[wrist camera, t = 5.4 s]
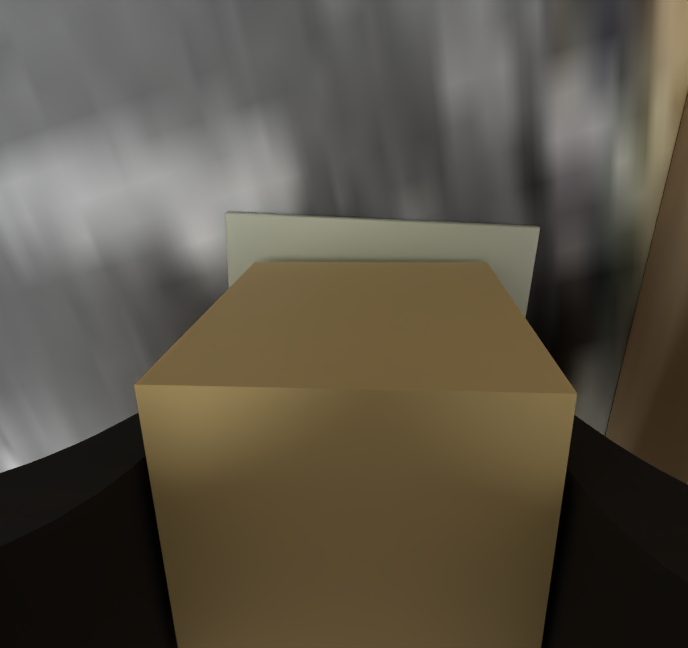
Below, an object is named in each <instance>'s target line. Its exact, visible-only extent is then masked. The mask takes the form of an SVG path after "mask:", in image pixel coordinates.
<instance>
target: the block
mask: <svg viewBox="0 0 688 648" xmlns="http://www.w3.org/2000/svg"><path fill="white" fill-rule="evenodd" d="M134 388H135V394H136V400H137V406H138V412H139V418H140V424H141V430H142V436H143V442H144V448H145V454H146V460H147V466H148V472H149V478H150V484H151V490H152V496H153V502H154V508H155V514H156V520H157V526H158V532H159V538H160V544H161V550H162V556H163V562H164V568H165V574H166V580H167V586H168V592H169V598H170V604H171V610H172V616H173V622H174V628H175V634H176V640H177V646H178V648H541V644H542V637H543V630H544V623H545V616H546V609H547V602H548V595H549V588H550V581H551V574H552V567H553V560H554V553H555V546H556V539H557V532H558V525H559V518H560V511H561V504H562V497H563V490H564V483H565V476H566V469H567V462H568V455H569V448H570V441H571V434H572V427H573V420H574V413H575V406H576V399H577V393H576V391H575V390H574V388H573V387H572V385H571V384H570V382H569V381H568V379H567V378H566V377H565V375H564V374H563V372H562V371H561V369H560V368H559V366H558V365H557V363H556V362H555V361H554V359H553V358H552V356H551V355H550V353H549V352H548V350H547V349H546V347H545V346H544V344H543V343H542V342H541V340H540V339H539V337H538V336H537V334H536V333H535V331H534V330H533V328H532V327H531V326H530V324H529V323H528V321H527V320H526V318H525V317H524V315H523V314H522V312H521V311H520V310H519V308H518V307H517V305H516V304H515V302H514V301H513V299H512V298H511V296H510V295H509V293H508V292H507V291H506V289H505V288H504V286H503V285H502V283H501V282H500V280H499V279H498V277H497V276H496V275H495V273H494V272H493V270H492V269H491V267H490V266H489V264H488V263H487V262H254V263H253V264H252V265H251V266H250V267H249V268H248V269H247V270H246V271H245V272H244V274H243V275H242V276H241V277H240V278H239V279H238V280H237V281H236V282H235V283H234V284H233V285H232V286H231V287H230V288H229V289H228V290H227V291H226V292H225V293H224V294H223V295H222V296H221V297H220V298H219V299H218V300H217V301H216V302H215V303H214V304H213V305H212V306H211V307H210V308H209V309H208V310H207V311H206V312H205V313H204V314H203V315H202V316H201V317H200V318H199V319H198V320H197V321H196V322H195V323H194V324H193V325H192V326H191V327H190V328H189V329H188V330H187V331H186V332H185V333H184V334H183V335H182V336H181V337H180V338H179V339H178V340H177V341H176V342H175V343H174V345H173V346H172V347H171V348H170V349H169V350H168V351H167V352H166V353H165V354H164V355H163V356H162V357H161V358H160V359H159V360H158V361H157V362H156V363H155V364H154V365H153V366H152V367H151V368H150V369H149V370H148V371H147V372H146V373H145V374H144V375H143V376H142V377H141V378H140V379H139V380H138V381H137V382H136V383H135V384H134Z"/></svg>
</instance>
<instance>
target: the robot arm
mask: <svg viewBox="0 0 688 648" xmlns="http://www.w3.org/2000/svg"><path fill="white" fill-rule="evenodd" d="M0 648H178V646H177V640H176V634H175V628H174V622H173V616H172V610H171V604H170V598H169V592H168V586H167V580H166V574H165V568H164V562H163V556H162V550H161V544H160V538H159V532H158V526H157V520H156V514H155V508H154V502H153V496H152V490H151V484H150V478H149V472H148V466H147V460H146V454H145V448H144V442H143V436H142V430H141V424H140V418H139V413H137V414H135V415H133V416H131V417H129V418H128V419H126V420H124V421H122V422H120V423H118V424H116V425H114V426H112V427H110V428H108V429H107V430H105V431H103V432H101V433H99V434H97V435H95V436H93V437H90V438H88V439H86V440H84V441H82V442H80V443H77V444H75V445H73V446H71V447H68V448H66V449H63V450H61V451H59V452H56V453H54V454H52V455H49V456H47V457H44V458H42V459H39V460H37V461H34V462H31V463H28V464H26V465H23V466H20V467H17V468H14V469H11V470H8V471H5V472H2V473H0ZM541 648H688V485H687V484H686V483H684V482H682V481H680V480H678V479H676V478H674V477H672V476H670V475H669V474H667V473H665V472H663V471H661V470H659V469H657V468H656V467H654V466H652V465H650V464H649V463H647V462H645V461H643V460H642V459H640V458H638V457H637V456H635V455H634V454H632V453H630V452H629V451H627V450H626V449H624V448H622V447H621V446H619V445H618V444H616V443H614V442H613V441H611V440H610V439H608V438H607V437H605V436H604V435H602V434H601V433H599V432H598V431H596V430H595V429H594V428H592V427H591V426H589V425H588V424H586V423H585V422H584V421H582V420H581V419H579V418H578V417H577V416H575V415H574V420H573V427H572V434H571V441H570V448H569V455H568V462H567V469H566V476H565V483H564V490H563V497H562V504H561V511H560V518H559V525H558V532H557V539H556V546H555V553H554V560H553V567H552V574H551V581H550V588H549V595H548V602H547V609H546V616H545V623H544V630H543V637H542V644H541Z"/></svg>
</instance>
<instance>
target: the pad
mask: <svg viewBox="0 0 688 648" xmlns="http://www.w3.org/2000/svg"><path fill="white" fill-rule="evenodd" d="M225 223H226V243H227V263H228V283H229V288H230V287H231V286H232V285H233V284H234V283H235V282H236V281H237V280H238V279H239V278H240V277H241V276H242V275H243V274H244V272H245V271H246V270H247V269H248V268H249V267H250V266H251V265H252V264H253V263H254V262H487V263H488V264H489V266H490V267H491V269H492V270H493V272H494V273H495V275H496V276H497V277H498V279H499V280H500V282H501V283H502V285H503V286H504V288H505V289H506V291H507V292H508V293H509V295H510V296H511V298H512V299H513V301H514V302H515V304H516V305H517V307H518V308H519V310H520V311H521V312H522V314H523V315H524V317H525V318H526V312H527V305H528V299H529V293H530V287H531V281H532V275H533V269H534V262H535V256H536V250H537V244H538V238H539V232H540V227H539V226H529V225H508V224H486V223H464V222H442V221H420V220H399V219H377V218H355V217H333V216H311V215H289V214H268V213H246V212H226V213H225Z"/></svg>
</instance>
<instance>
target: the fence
mask: <svg viewBox="0 0 688 648" xmlns="http://www.w3.org/2000/svg"><path fill="white" fill-rule="evenodd" d="M605 437H607V438H608V439H610V440H611V441H613V442H614V443H616V444H618V445H619V446H621V447H622V448H624V449H626V450H627V451H629V452H630V453H632V454H634V455H635V456H637V457H638V458H640V459H642V460H643V461H645V462H647V463H649V464H650V465H652V466H654V467H656V468H657V469H659V470H661V471H663V472H665V473H667V474H669V475H670V476H672V477H674V478H676V479H678V480H680V481H682V482H684V483H686V484H687V485H688V95H687V99H686V104H685V108H684V112H683V116H682V120H681V124H680V128H679V133H678V137H677V141H676V145H675V149H674V153H673V157H672V162H671V166H670V170H669V174H668V178H667V182H666V186H665V191H664V195H663V199H662V203H661V207H660V211H659V215H658V220H657V224H656V228H655V232H654V236H653V240H652V244H651V249H650V253H649V257H648V261H647V265H646V269H645V273H644V278H643V282H642V286H641V290H640V294H639V298H638V302H637V307H636V311H635V315H634V319H633V323H632V327H631V331H630V336H629V340H628V344H627V348H626V352H625V356H624V360H623V365H622V369H621V373H620V377H619V381H618V385H617V389H616V394H615V398H614V402H613V406H612V410H611V414H610V418H609V423H608V427H607V431H606V435H605Z"/></svg>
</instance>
